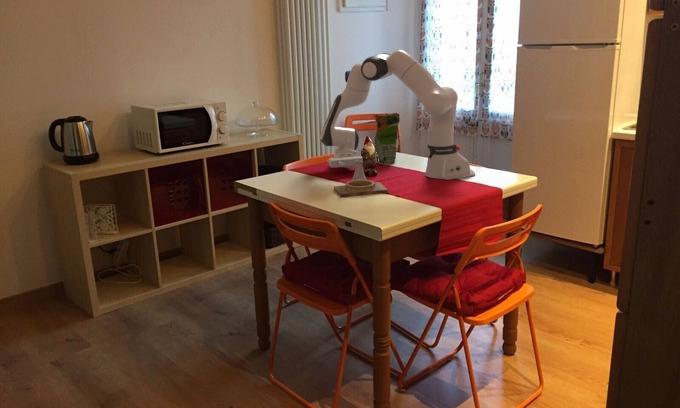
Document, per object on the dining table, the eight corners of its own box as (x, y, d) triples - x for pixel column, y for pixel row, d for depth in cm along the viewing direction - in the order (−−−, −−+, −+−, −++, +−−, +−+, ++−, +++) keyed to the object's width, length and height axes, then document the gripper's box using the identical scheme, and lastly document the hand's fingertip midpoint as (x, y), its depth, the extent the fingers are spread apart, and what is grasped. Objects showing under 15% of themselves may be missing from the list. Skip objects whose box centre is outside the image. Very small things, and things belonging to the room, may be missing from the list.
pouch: (401, 159, 298) (400, 111, 291) (394, 165, 288) (393, 114, 281) (380, 159, 302) (379, 110, 295) (373, 164, 292) (372, 114, 285)
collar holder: (379, 185, 252) (379, 177, 251) (387, 193, 240) (387, 184, 239) (334, 189, 249) (333, 181, 248) (340, 197, 236) (339, 189, 235)
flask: (366, 185, 254) (365, 162, 251) (350, 184, 255) (349, 162, 252) (368, 180, 261) (368, 159, 258) (352, 180, 262) (352, 159, 259)
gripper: (325, 153, 277) (331, 159, 264) (367, 150, 280) (374, 155, 267) (326, 166, 278) (331, 173, 265) (367, 163, 282) (375, 169, 269)
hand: (353, 164), depth 266 cm, fingers open, 8 cm apart
